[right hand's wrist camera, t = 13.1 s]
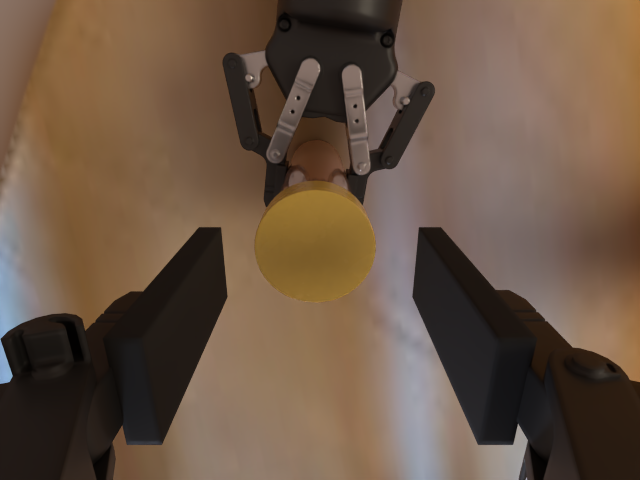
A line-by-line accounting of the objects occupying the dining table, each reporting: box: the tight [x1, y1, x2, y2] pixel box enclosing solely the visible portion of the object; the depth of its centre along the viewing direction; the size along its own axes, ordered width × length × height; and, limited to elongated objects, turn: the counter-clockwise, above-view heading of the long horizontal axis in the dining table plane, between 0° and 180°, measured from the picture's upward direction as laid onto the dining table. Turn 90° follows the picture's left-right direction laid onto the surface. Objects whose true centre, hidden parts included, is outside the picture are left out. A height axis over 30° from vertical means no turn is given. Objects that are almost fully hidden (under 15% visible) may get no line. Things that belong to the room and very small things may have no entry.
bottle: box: [279, 140, 353, 194], centre depth 25 cm, size 4×4×19 cm
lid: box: [255, 181, 376, 302], centre depth 17 cm, size 5×5×2 cm
